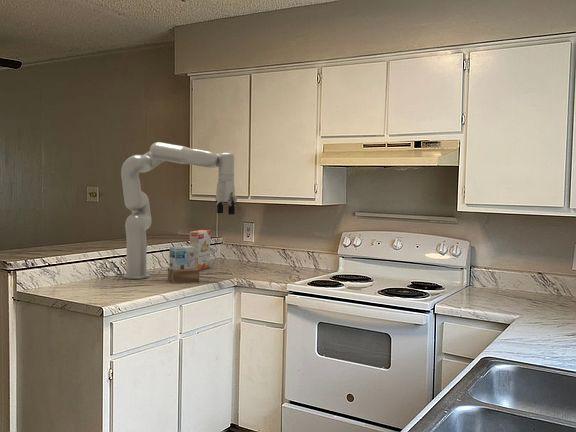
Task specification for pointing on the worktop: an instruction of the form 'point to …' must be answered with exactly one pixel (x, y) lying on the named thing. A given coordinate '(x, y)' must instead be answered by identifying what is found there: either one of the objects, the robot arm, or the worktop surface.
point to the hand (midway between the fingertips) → (225, 213)
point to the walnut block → (183, 275)
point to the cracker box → (201, 248)
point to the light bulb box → (182, 258)
